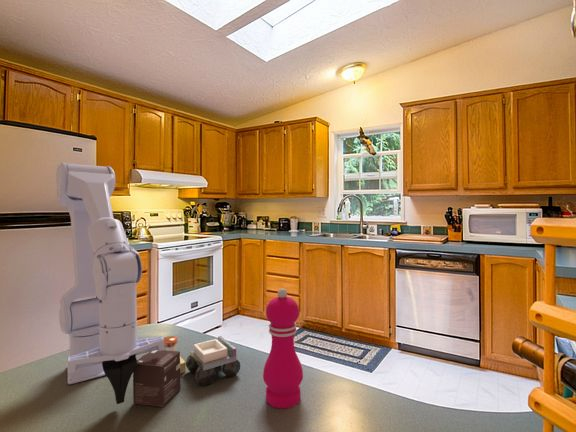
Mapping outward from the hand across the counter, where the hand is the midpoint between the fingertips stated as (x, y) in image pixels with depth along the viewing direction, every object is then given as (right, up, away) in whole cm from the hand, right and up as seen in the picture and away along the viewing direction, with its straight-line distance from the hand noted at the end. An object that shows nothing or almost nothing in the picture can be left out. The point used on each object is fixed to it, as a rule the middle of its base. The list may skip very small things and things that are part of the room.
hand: (119, 400), depth 55 cm
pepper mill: (+28, -1, +3) cm, 28 cm away
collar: (+4, -1, +13) cm, 14 cm away
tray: (+13, +3, +11) cm, 17 cm away
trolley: (+13, -1, +12) cm, 18 cm away
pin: (+4, -1, +13) cm, 14 cm away
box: (+5, -2, +4) cm, 6 cm away
